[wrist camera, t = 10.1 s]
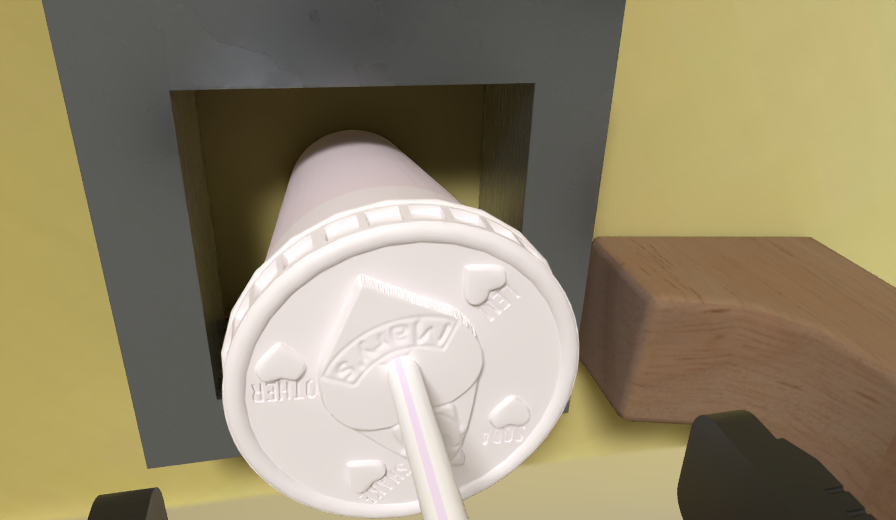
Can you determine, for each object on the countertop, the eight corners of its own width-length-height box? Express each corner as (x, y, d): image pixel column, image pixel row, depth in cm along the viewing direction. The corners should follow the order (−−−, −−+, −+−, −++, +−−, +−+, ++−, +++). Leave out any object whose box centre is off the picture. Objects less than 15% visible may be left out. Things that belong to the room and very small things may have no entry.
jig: (560, -24, 19) (627, -9, 15) (525, 340, 24) (567, 412, 21) (88, -31, 16) (38, -15, 13) (167, 379, 21) (147, 469, 18)
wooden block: (564, 344, 25) (1072, 1092, 9) (588, 231, 23) (1289, 937, 7) (773, 335, 27) (1468, 921, 11) (812, 232, 25) (1716, 768, 9)
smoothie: (417, 47, 19) (691, 297, 7) (482, 239, 22) (746, 647, 10) (198, 132, 18) (59, 561, 6) (296, 314, 22) (330, 833, 9)
